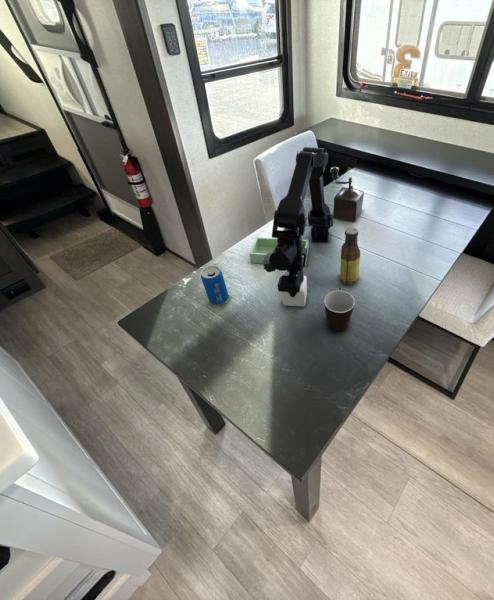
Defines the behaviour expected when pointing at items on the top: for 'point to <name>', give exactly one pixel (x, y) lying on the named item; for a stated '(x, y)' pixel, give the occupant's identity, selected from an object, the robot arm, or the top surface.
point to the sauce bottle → (350, 257)
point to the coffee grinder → (347, 200)
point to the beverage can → (214, 285)
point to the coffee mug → (338, 309)
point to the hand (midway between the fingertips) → (294, 288)
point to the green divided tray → (267, 248)
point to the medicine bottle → (300, 296)
